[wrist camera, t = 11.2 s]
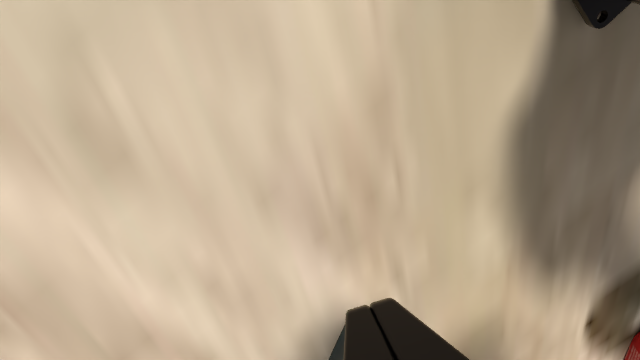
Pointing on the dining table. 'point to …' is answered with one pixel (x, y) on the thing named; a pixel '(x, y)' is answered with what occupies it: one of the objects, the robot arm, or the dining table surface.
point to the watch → (339, 348)
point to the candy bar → (634, 349)
